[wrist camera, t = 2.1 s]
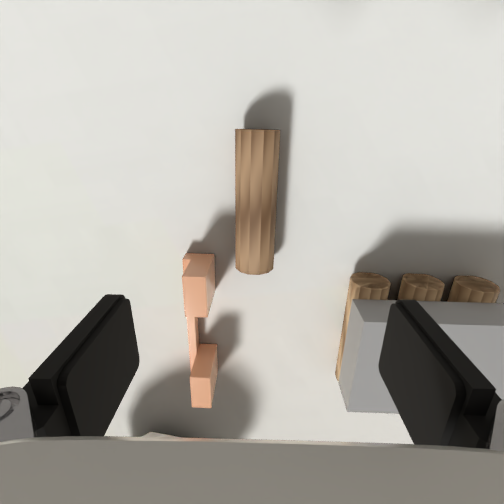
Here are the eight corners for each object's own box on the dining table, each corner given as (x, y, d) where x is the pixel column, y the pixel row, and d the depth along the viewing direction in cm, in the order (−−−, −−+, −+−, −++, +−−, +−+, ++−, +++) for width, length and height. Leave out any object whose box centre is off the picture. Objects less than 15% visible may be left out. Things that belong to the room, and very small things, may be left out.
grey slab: (352, 298, 28) (364, 321, 25) (508, 303, 28) (541, 327, 24) (338, 382, 32) (347, 411, 28) (475, 386, 31) (499, 417, 28)
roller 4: (447, 274, 31) (469, 292, 27) (482, 275, 30) (509, 293, 27) (419, 368, 35) (435, 392, 32) (450, 369, 35) (469, 394, 32)
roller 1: (237, 128, 26) (234, 129, 23) (278, 129, 26) (281, 130, 23) (237, 258, 31) (234, 273, 27) (272, 259, 31) (273, 275, 27)
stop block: (186, 253, 30) (172, 276, 26) (214, 253, 30) (205, 277, 26) (194, 370, 36) (184, 406, 31) (217, 371, 36) (211, 408, 31)
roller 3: (396, 272, 31) (412, 289, 27) (432, 273, 31) (452, 290, 27) (375, 365, 35) (387, 390, 32) (406, 367, 35) (421, 391, 32)
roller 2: (346, 271, 31) (356, 288, 27) (382, 272, 31) (396, 290, 27) (332, 365, 35) (339, 389, 32) (363, 366, 35) (373, 390, 32)
